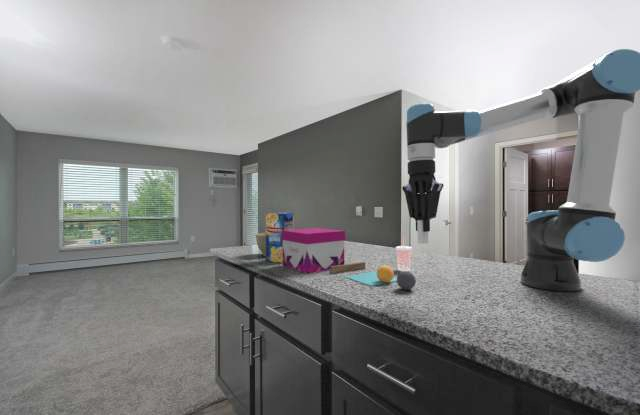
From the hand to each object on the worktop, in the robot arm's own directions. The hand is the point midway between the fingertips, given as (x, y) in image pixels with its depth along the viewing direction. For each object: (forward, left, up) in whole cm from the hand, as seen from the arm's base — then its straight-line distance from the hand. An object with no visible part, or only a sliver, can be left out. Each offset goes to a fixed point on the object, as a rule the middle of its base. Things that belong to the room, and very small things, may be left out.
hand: (423, 242), depth 87 cm
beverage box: (+69, +14, -15) cm, 72 cm away
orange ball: (+15, 0, -12) cm, 20 cm away
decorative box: (+51, +7, -15) cm, 53 cm away
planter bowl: (+86, +11, -15) cm, 88 cm away
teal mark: (+21, 0, -15) cm, 26 cm away
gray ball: (+6, +1, -12) cm, 13 cm away
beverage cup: (+25, -19, -15) cm, 35 cm away
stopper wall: (+36, 0, -15) cm, 39 cm away
